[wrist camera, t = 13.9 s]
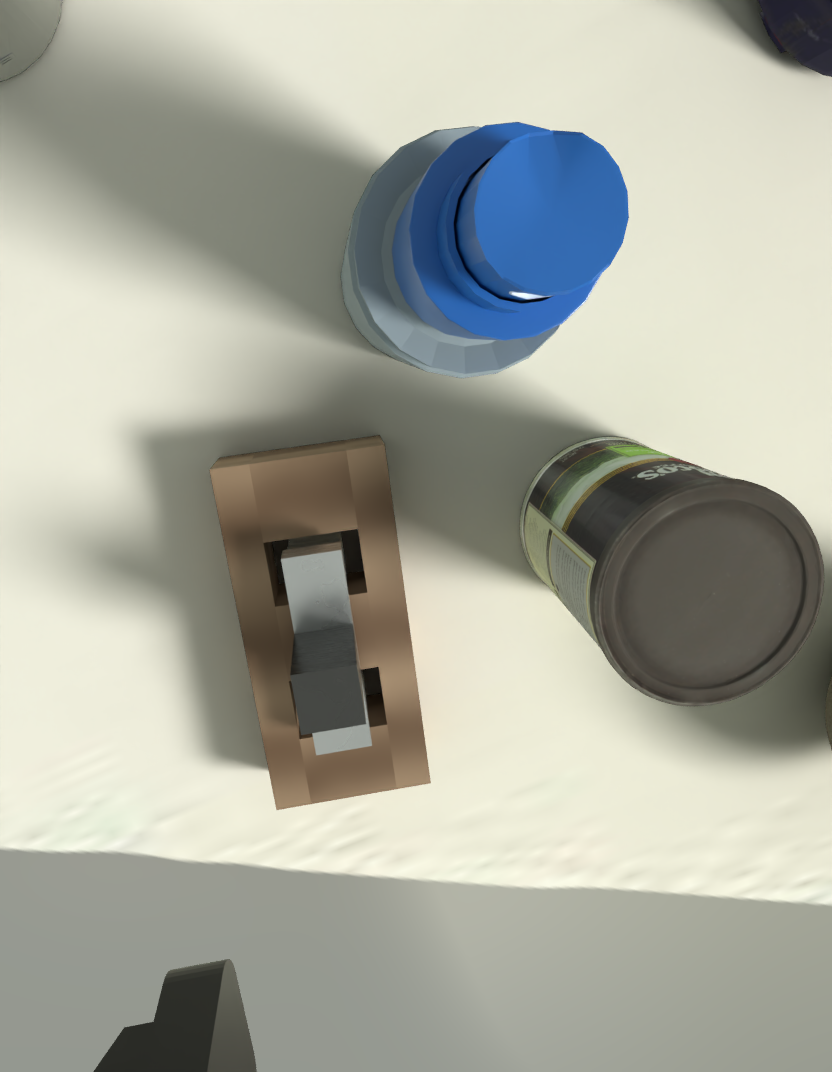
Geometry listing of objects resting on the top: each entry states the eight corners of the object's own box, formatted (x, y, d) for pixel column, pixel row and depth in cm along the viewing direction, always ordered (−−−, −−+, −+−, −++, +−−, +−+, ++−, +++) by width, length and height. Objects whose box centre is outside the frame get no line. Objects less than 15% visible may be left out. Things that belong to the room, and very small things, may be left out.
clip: (287, 526, 45) (274, 591, 34) (338, 519, 45) (343, 580, 34) (317, 699, 48) (315, 810, 37) (365, 691, 48) (378, 799, 37)
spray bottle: (498, 366, 44) (707, 408, 20) (339, 361, 43) (358, 399, 19) (509, 196, 42) (757, 13, 18) (341, 186, 41) (365, -23, 17)
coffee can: (550, 414, 45) (646, 449, 32) (708, 463, 47) (863, 517, 33) (494, 579, 47) (562, 678, 34) (647, 619, 49) (770, 730, 36)
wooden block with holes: (219, 457, 44) (209, 469, 40) (379, 435, 44) (384, 445, 40) (280, 772, 49) (276, 810, 45) (422, 748, 50) (430, 782, 46)
